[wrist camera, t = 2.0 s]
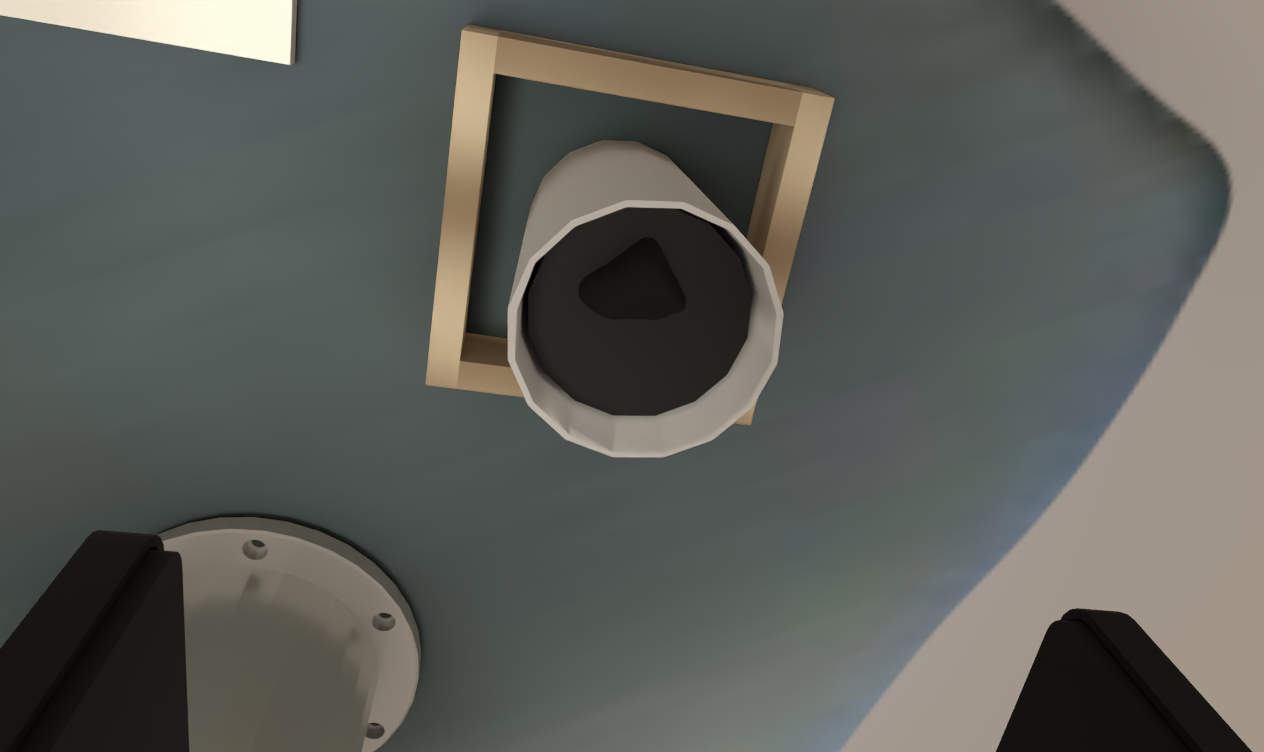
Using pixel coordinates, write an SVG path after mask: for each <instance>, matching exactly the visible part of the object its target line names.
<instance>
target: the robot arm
mask: <svg viewBox="0 0 1264 752" xmlns="http://www.w3.org/2000/svg"><path fill="white" fill-rule="evenodd" d="M420 662H421V646H420V639H419V631H418V628H417V625H416V622H415V620H414V617H413V615H412V612H411V609H410V607H409V605H408V603H407V602H406V600H405V599H404V597H403V596H402V594H401V593H400V591H399V590H398V588H397V587H396V585H395V584H394V583H393V582H392V581H391V580H390V579H389V578H388V577H387V575H386V574H385V573H384V572H383V571H382V570H381V569H380V568H379V567H378V566H377V565H376V564H375V563H373V562H372V561H371V560H369V559H368V558H366V557H365V556H364V555H362V554H361V553H359V552H358V551H356V550H355V549H354V548H352V547H351V546H349V545H347V544H345V543H343V542H341V541H339V540H337V539H335V538H333V537H331V536H329V535H327V534H324V533H322V532H320V531H317V530H314V529H311V528H307V527H304V526H301V525H297V524H294V523H290V522H287V521H279V520H272V519H265V518H258V517H222V518H215V519H209V520H203V521H198V522H192V523H187V524H184V525H182V526H179V527H176V528H173V529H171V530H168V531H165V532H162V533H160V534H157V535H152V534H139V533H127V532H114V531H101V530H98V531H95V532H93V533H92V534H90V535H89V536H88V537H87V538H86V540H85V541H84V542H83V544H82V545H81V546H80V547H79V549H78V550H77V551H76V553H75V554H74V555H73V556H72V558H71V559H70V560H69V562H68V563H67V564H66V565H65V567H64V568H63V569H62V570H61V572H60V573H59V574H58V576H57V577H56V578H55V579H54V581H53V582H52V583H51V585H50V586H49V587H48V588H47V590H46V591H45V592H44V594H43V595H42V596H41V597H40V599H39V600H38V601H37V603H36V604H35V605H34V606H33V608H32V609H31V610H30V612H29V613H28V614H27V615H26V617H25V618H24V619H23V620H22V622H21V623H20V624H19V626H18V627H17V628H16V629H15V631H14V632H13V633H12V635H11V636H10V637H9V638H8V640H7V641H6V642H5V644H4V645H3V646H2V647H1V649H0V752H374V751H376V750H377V749H378V748H380V747H381V746H382V745H383V744H385V743H386V742H387V741H388V739H389V738H390V737H391V736H392V735H393V733H394V732H395V731H396V730H397V729H398V728H399V726H400V725H401V724H402V722H403V720H404V719H405V717H406V715H407V713H408V711H409V709H410V707H411V705H412V703H413V700H414V696H415V692H416V688H417V683H418V679H419V671H420ZM996 752H1252V751H1251V750H1250V749H1249V748H1248V747H1247V746H1246V744H1245V743H1244V742H1243V741H1242V740H1241V739H1240V738H1239V737H1238V736H1237V734H1236V733H1235V732H1234V731H1233V730H1232V729H1231V728H1230V727H1229V725H1228V724H1227V723H1226V722H1225V721H1224V720H1223V719H1222V718H1221V717H1220V715H1219V714H1218V713H1217V712H1216V711H1215V710H1214V709H1213V707H1212V706H1211V705H1210V704H1209V703H1208V702H1207V701H1206V700H1205V699H1204V697H1203V696H1202V695H1201V694H1200V693H1199V692H1198V691H1197V690H1196V689H1195V688H1194V686H1193V685H1192V684H1191V683H1190V682H1189V681H1188V679H1187V678H1186V677H1185V676H1184V675H1183V674H1182V673H1181V672H1180V671H1179V669H1177V667H1176V666H1175V665H1174V664H1173V663H1172V662H1171V660H1170V659H1169V658H1168V657H1167V656H1166V655H1165V654H1164V653H1163V652H1162V650H1161V649H1160V648H1159V647H1158V646H1157V645H1156V644H1155V643H1154V641H1152V639H1151V638H1150V637H1149V636H1148V635H1147V634H1146V633H1145V632H1144V630H1143V629H1142V628H1141V627H1140V626H1139V625H1138V624H1137V622H1136V621H1135V620H1134V619H1132V618H1131V617H1130V616H1129V615H1127V614H1124V613H1121V612H1114V611H1103V610H1090V609H1078V608H1077V609H1071V610H1069V611H1068V612H1067V613H1065V614H1064V615H1063V616H1062V618H1061V620H1059V621H1055V622H1053V623H1052V624H1051V625H1050V626H1049V628H1048V630H1047V632H1046V634H1045V636H1044V639H1043V641H1042V644H1041V646H1040V648H1039V651H1038V653H1037V655H1036V658H1035V660H1034V663H1033V665H1032V668H1031V670H1030V673H1029V675H1028V677H1027V679H1026V682H1025V684H1024V686H1023V689H1022V691H1021V693H1020V696H1019V698H1018V701H1017V703H1016V705H1015V708H1014V710H1013V712H1012V715H1011V717H1010V720H1009V722H1008V724H1007V727H1006V729H1005V732H1004V734H1003V736H1002V739H1001V741H1000V744H999V746H998V748H997V750H996Z"/></svg>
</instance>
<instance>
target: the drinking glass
mask: <svg viewBox="0 0 1264 752" xmlns="http://www.w3.org/2000/svg"><path fill="white" fill-rule="evenodd" d="M783 316H784V313H783V310H782V307H781V303H780V300H779V296H778V293H777V290H776V286H775V283H774V280H773V276H772V273H771V270H770V266H769V264H768V263H767V262H766V261H765V260H764V259H763V258H762V256H761V255H760V254H759V253H758V252H757V251H756V250H755V248H754V247H753V246H752V245H751V244H750V243H749V242H748V240H747V239H746V238H745V237H744V236H743V235H742V234H741V232H740V231H739V230H738V229H737V228H736V227H735V226H734V224H733V223H732V222H731V221H730V220H729V219H728V218H727V217H726V216H725V215H724V214H723V213H722V212H721V211H720V210H719V209H718V208H717V207H716V206H715V205H714V204H713V203H712V202H711V201H710V200H709V199H708V198H707V197H706V196H705V195H704V194H703V192H702V191H701V190H700V189H699V188H698V187H697V186H696V185H695V184H694V183H693V182H692V181H691V180H690V179H689V178H688V177H687V176H686V175H685V174H684V173H683V172H682V171H681V170H680V169H679V168H678V167H677V166H676V165H675V164H674V163H673V161H672V160H671V159H670V158H669V157H668V156H666V155H664V154H662V153H660V152H658V151H656V150H654V149H652V148H650V147H647V146H645V145H643V144H641V143H639V142H637V141H616V140H600V141H598V142H595V143H592V144H590V145H587V146H584V147H582V148H579V149H576V150H574V151H571V152H569V153H568V154H567V155H566V156H565V157H564V158H562V159H561V160H560V161H559V162H558V163H557V164H556V165H555V166H554V167H553V168H552V169H551V170H550V171H549V172H548V173H547V174H546V175H544V177H543V179H542V182H541V184H540V186H539V188H538V191H537V193H536V195H535V197H534V200H533V202H532V204H531V207H530V212H529V216H528V220H527V225H526V229H525V234H524V238H523V243H522V247H521V252H520V256H519V260H518V265H517V269H516V274H515V278H514V283H513V287H512V292H511V296H510V300H509V305H508V362H509V364H510V366H511V368H512V370H513V373H514V375H515V377H516V379H517V382H518V384H519V386H520V388H521V390H522V393H523V395H524V397H525V399H526V402H527V404H528V406H529V407H530V408H531V409H533V410H534V411H535V412H536V413H537V414H538V415H539V416H540V417H541V418H542V419H544V420H545V421H546V422H547V423H548V424H549V425H550V426H551V427H552V428H553V429H554V430H556V431H557V432H558V433H559V434H560V435H561V436H562V437H563V438H564V439H566V440H568V441H571V442H574V443H576V444H579V445H582V446H584V447H587V448H590V449H592V450H595V451H598V452H600V453H603V454H606V455H608V456H611V457H666V456H669V455H672V454H675V453H678V452H680V451H683V450H686V449H689V448H692V447H695V446H697V445H700V444H703V443H706V442H709V441H712V440H713V439H714V438H716V437H717V436H718V435H719V434H721V433H722V432H723V431H724V430H726V429H727V428H728V427H729V426H730V425H732V424H733V423H734V422H735V421H737V420H738V419H739V418H740V417H741V416H743V415H744V414H745V413H746V412H748V411H749V410H750V409H751V408H752V407H753V405H754V404H755V402H756V400H757V398H758V397H759V395H760V393H761V391H762V390H763V388H764V386H765V384H766V383H767V381H768V379H769V377H770V376H771V374H772V372H773V370H774V369H775V367H776V365H777V362H778V354H779V347H780V339H781V331H782V323H783Z"/></svg>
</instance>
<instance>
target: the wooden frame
mask: <svg viewBox="0 0 1264 752" xmlns="http://www.w3.org/2000/svg"><path fill="white" fill-rule="evenodd" d="M496 74H501V75H506V76H512V77H517V78H523V79H529V80H534V81H540V82H546V83H551V84H557V85H563V86H568V87H574V88H580V89H585V90H591V91H597V92H602V93H608V94H614V95H619V96H625V97H630V98H636V99H642V100H647V101H653V102H659V103H664V104H670V105H676V106H681V107H687V108H693V109H698V110H704V111H710V112H715V113H721V114H727V115H732V116H738V117H743V118H749V119H755V120H760V121H766V122H772V123H773V126H772V130H771V134H770V138H769V143H768V147H767V151H766V155H765V160H764V164H763V168H762V172H761V177H760V181H759V185H758V189H757V194H756V198H755V202H754V206H753V211H752V215H751V219H750V223H749V228H748V232H747V236H746V239H747V240H748V242H749V243H750V244H751V245H752V246H753V247H754V248H755V250H756V251H757V252H758V253H759V254H760V255H761V256H762V258H763V259H764V260H765V261H766V262H767V263H768V264H769V266H770V270H771V273H772V276H773V280H774V283H775V286H776V290H777V293H778V296H779V300H780V303H781V305H782V301H783V297H784V293H785V289H786V286H787V282H788V278H789V274H790V270H791V266H792V262H793V259H794V255H795V251H796V247H797V243H798V239H799V235H800V231H801V228H802V224H803V220H804V216H805V212H806V208H807V204H808V200H809V197H810V193H811V189H812V185H813V181H814V177H815V173H816V169H817V166H818V162H819V158H820V154H821V150H822V146H823V142H824V139H825V135H826V131H827V127H828V123H829V119H830V115H831V111H832V108H833V104H834V100H835V98H833V97H831V96H829V95H827V94H825V93H823V92H821V91H818V90H816V89H814V88H811V87H806V86H801V85H795V84H790V83H784V82H779V81H773V80H768V79H763V78H757V77H752V76H746V75H741V74H736V73H730V72H725V71H719V70H714V69H708V68H703V67H698V66H692V65H687V64H681V63H676V62H670V61H665V60H660V59H654V58H649V57H643V56H638V55H632V54H627V53H622V52H616V51H611V50H605V49H600V48H595V47H589V46H584V45H578V44H573V43H567V42H562V41H557V40H551V39H546V38H540V37H535V36H529V35H524V34H519V33H513V32H508V31H502V30H497V29H491V28H486V27H481V26H475V25H470V24H468V25H467V26H466V27H464V28H463V29H462V33H461V43H460V53H459V63H458V72H457V82H456V92H455V102H454V111H453V121H452V131H451V141H450V150H449V160H448V170H447V180H446V190H445V199H444V209H443V219H442V229H441V238H440V248H439V258H438V268H437V277H436V287H435V297H434V307H433V316H432V326H431V336H430V346H429V356H428V365H427V375H426V385H430V386H438V387H446V388H454V389H462V390H470V391H478V392H486V393H494V394H502V395H511V396H519V397H524V395H523V393H522V390H521V388H520V386H519V384H518V382H517V379H516V377H515V375H514V373H513V370H512V368H511V366H510V364H509V362H508V338H502V337H495V336H487V335H480V334H472V333H465V332H466V323H467V315H468V306H469V298H470V289H471V281H472V272H473V264H474V255H475V247H476V239H477V230H478V222H479V213H480V205H481V196H482V188H483V179H484V171H485V162H486V154H487V145H488V137H489V128H490V120H491V112H492V103H493V95H494V86H495V78H496ZM756 402H757V400H756ZM756 402H755V404H754V405H753V407H752V408H751V409H750V410H749V411H748V412H746V413H745V414H744V415H743V416H741V417H740V418H739V419H738V420H737V421H735V422H734V423H737V424H745V425H751V421H752V417H753V413H754V410H755V406H756Z"/></svg>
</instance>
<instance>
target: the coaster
mask: <svg viewBox="0 0 1264 752" xmlns="http://www.w3.org/2000/svg"><path fill="white" fill-rule="evenodd" d="M0 15H3V16H9V17H15V18H21V19H27V20H32V21H38V22H44V23H50V24H56V25H61V26H67V27H73V28H79V29H85V30H90V31H96V32H102V33H108V34H114V35H119V36H125V37H131V38H137V39H143V40H148V41H154V42H160V43H166V44H172V45H177V46H183V47H189V48H195V49H201V50H206V51H212V52H218V53H224V54H230V55H235V56H241V57H247V58H253V59H259V60H264V61H270V62H276V63H282V64H287V65H291V64H293V63H295V45H296V17H297V0H0Z"/></svg>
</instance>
